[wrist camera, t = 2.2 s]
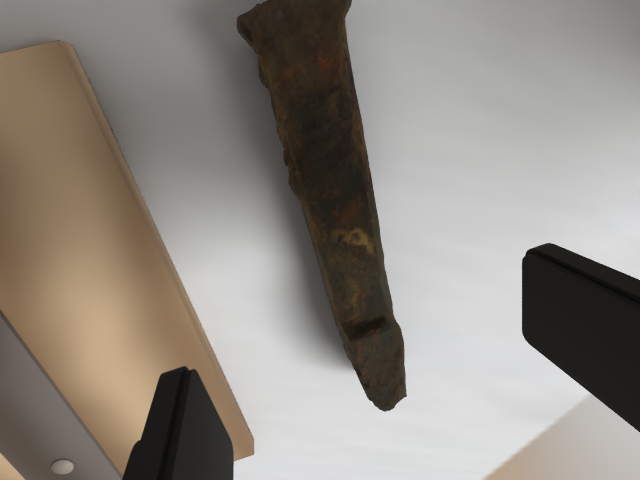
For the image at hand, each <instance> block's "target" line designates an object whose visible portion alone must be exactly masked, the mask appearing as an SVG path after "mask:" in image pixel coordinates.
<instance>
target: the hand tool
mask: <svg viewBox="0 0 640 480" xmlns="http://www.w3.org/2000/svg"><path fill="white" fill-rule="evenodd" d="M351 2H352V0H267V1H265V2H263V3H262V4H257V5H256V6H255V7H254V8H253V9H252V10H250V11H248V12H246V13H244V14H242V15H240V16H239V17H238V18H237V29H238V32H239V33H240V35H241V36H242V37H243V38H244V39H245V40H246V41H247V42H248V44H249V45H250V46H251V47H252V48H253V49H254V51H255V52H256V53H257V55H258V59H259V77H260V79H261V82H262V84H263V85H264V86H265V87H266V88H267V89H269V92H270V96H271V103H272V108H273V111H274V115H275V119H276V122H277V132H278V135H279V138H280V140H281V142H282V145H283V148H284V151H283V152H284V155H283V156H284V161H285V165H286V166H288V167H289V184H290V187H291V189H292V191H293V192H294V194H295V195H296V196H297V198H298V199H299V200H300V202H301V204H302V209H303V213H304V216H305V219H306V223H307V226H308V229H309V232H310V236H311V239H312V242H313V246H314V249H315V252H316V255H317V259H318V264H319V267H320V270H321V274H322V277H323V281H324V284H325V287H326V291H327V294H328V297H329V301H330V304H331V309H332V313H333V316H334V320H335V323H336V326H337V327H338V329H339V332H340V336H341V338H342V341H343V346H344V349H345V351H346V353H347V356H348V358H349V359H350V361H351V363H352V365H353V367H354V369H355V371H356V373H357V376H358V378H359V380H360V383H361V385H362V387H363V389H364V391H365V393H366V395H367V397H368V399H369V400H370V401H372V402H373V403H374V405H375V406H376V407H378V408H379V409H380V410H382V411H390V410H391V409H393V408H394V407H395V405H396V404H397V403H398V402H399V401H400V400H402V399H403V398H404V397H407V395H406V384H405V367H404V341H403V336H402V332H401V329H400V326H399V325H398V323H397V322H396V320H395V318H394V315H393V308H392V300H391V294H390V291H389V286H388V281H387V275H386V271H385V267H384V253H383V249H382V244H381V238H380V227H379V220H378V215H377V209H376V203H375V197H374V191H373V185H372V178H371V173H370V168H369V162H368V155H367V150H366V145H365V139H364V131H363V125H362V119H361V114H360V109H359V105H358V100H357V95H356V90H355V85H354V79H353V73H352V68H351V62H350V55H349V50H348V44H347V36H346V28H345V16H346V14H347V12H348V10H349V8H350V6H351Z"/></svg>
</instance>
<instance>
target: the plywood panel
mask: <svg viewBox="0 0 640 480" xmlns="http://www.w3.org/2000/svg"><path fill="white" fill-rule="evenodd" d="M182 366H186V367H187V368H188V369H189V370H192V369H195V370H196V371H197V372H198V374H199V376H200V378H201V380H202V382H203V384H204V386H205V388H206V390H207V392H208V394H209V396H210V398H211V400H212V402H213V404H214V406H215V408H216V410H217V412H218V414H219V416H220V418H221V420H222V422H223V424H224V426H225V428H226V430H227V432H228V434H229V437H230V439H231V441H232V445H233V452H234V461H236V460H239V459H242V458H245V457H248V456H251V455H254V438H253V436H252V434H251V432H250V430H249V427H248V425H247V423H246V421H245V419H244V417H243V414H242V412H241V410H240V408H239V406H238V404H237V401H236V399H235V397H234V395H233V393H232V391H231V388H230V386H229V384H228V382H227V380H226V378H225V375H224V373H223V371H222V369H221V367H220V364H219V362H218V360H217V358H216V356H215V354H214V351H213V349H212V347H211V345H210V343H209V341H208V338H207V336H206V334H205V332H204V330H203V328H202V325H201V323H200V321H199V319H198V317H197V315H196V312H195V310H194V308H193V306H192V304H191V301H190V299H189V297H188V295H187V293H186V291H185V288H184V286H183V284H182V282H181V280H180V278H179V275H178V273H177V271H176V269H175V267H174V265H173V262H172V260H171V258H170V256H169V254H168V252H167V249H166V247H165V245H164V243H163V241H162V239H161V236H160V234H159V232H158V230H157V228H156V225H155V223H154V221H153V219H152V217H151V215H150V212H149V210H148V208H147V206H146V204H145V202H144V199H143V197H142V195H141V193H140V191H139V189H138V186H137V184H136V182H135V180H134V178H133V176H132V173H131V171H130V169H129V167H128V165H127V162H126V160H125V158H124V156H123V154H122V152H121V149H120V147H119V145H118V143H117V141H116V139H115V136H114V134H113V132H112V130H111V128H110V126H109V123H108V121H107V119H106V117H105V115H104V113H103V110H102V108H101V106H100V104H99V102H98V99H97V97H96V95H95V93H94V91H93V89H92V86H91V84H90V82H89V80H88V78H87V76H86V73H85V71H84V69H83V67H82V65H81V63H80V60H79V58H78V56H77V54H76V52H75V50H74V47H73V45H71V44H68V43H65V42H62V41H59V40H57V41H53V42H48V43H44V44H40V45H35V46H31V47H27V48H22V49H18V50H13V51H9V52H5V53H0V480H122V478H123V475H124V472H125V469H126V466H127V462H128V459H129V456H130V453H131V451H132V448H133V446H134V444H135V443H136V442H137V441H139V440H141V436H142V433H143V430H144V426H145V423H146V420H147V416H148V413H149V410H150V406H151V403H152V400H153V397H154V393H155V390H156V387H157V383H158V380H159V377H160V375H161V374H162V373H164V372H167V371H170V370H173V369H176V368H179V367H182Z"/></svg>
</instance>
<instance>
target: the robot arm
mask: <svg viewBox="0 0 640 480" xmlns="http://www.w3.org/2000/svg"><path fill="white" fill-rule="evenodd" d="M522 333H523V336H524V338H525V340H526V341H527V342H528V343H529V344H530V345H531V346H532V347H534V348H535V349H536V350H537V351H539V352H540V353H541V354H543V355H544V356H545V357H546V358H548V359H549V360H550V361H551V362H553V363H554V364H555V365H556V366H558V367H559V368H560V369H561V370H563V371H564V372H565V373H566V374H568V375H569V376H570V377H571V378H573V379H574V380H575V381H576V382H578V383H579V384H580V385H581V386H583V387H584V388H585V389H586V390H588V391H589V392H590V393H591V394H593V395H594V396H595V397H597V398H598V399H599V400H600V401H601V402H603V403H604V404H605V405H606V406H608V407H609V408H610V409H611V410H613V411H614V412H615V413H617V414H618V415H619V416H620V417H621V418H623V419H624V420H625V421H626V422H628V423H629V424H630V425H631V426H633V427H634V428H635V429H637V430H638V431H639V432H640V280H638V279H636V278H634V277H631V276H629V275H626V274H624V273H622V272H619V271H617V270H614V269H612V268H610V267H607V266H605V265H603V264H600V263H598V262H595V261H593V260H591V259H588V258H586V257H583V256H581V255H579V254H576V253H574V252H571V251H569V250H567V249H564V248H562V247H560V246H557V245H555V244H551V243H547V244H543V245H540V246H538V247H535V248H532V249H529V250H528V251H527V252H526V255H525V257H524V258H523V260H522ZM233 464H234V452H233V445H232V441H231V439H230V437H229V434H228V432H227V430H226V428H225V426H224V424H223V422H222V420H221V418H220V416H219V414H218V412H217V410H216V408H215V406H214V404H213V402H212V400H211V398H210V396H209V394H208V392H207V390H206V388H205V386H204V384H203V382H202V380H201V378H200V376H199V374H198V372H197V371H196V370H195V369H192V370H189V369H188V368H187V367H186V366H182V367H179V368H176V369H173V370H170V371H167V372H164V373H162V374H161V375H160V377H159V380H158V383H157V387H156V390H155V393H154V397H153V400H152V403H151V406H150V410H149V413H148V416H147V420H146V423H145V426H144V430H143V433H142V436H141V440H139V441H137V442H136V443H135V444H134V446H133V448H132V451H131V453H130V456H129V459H128V462H127V466H126V469H125V472H124V475H123V478H122V480H233Z"/></svg>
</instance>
